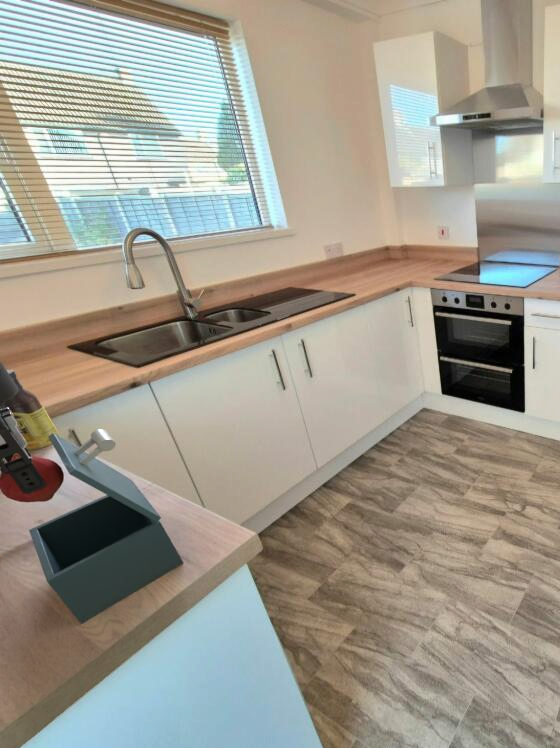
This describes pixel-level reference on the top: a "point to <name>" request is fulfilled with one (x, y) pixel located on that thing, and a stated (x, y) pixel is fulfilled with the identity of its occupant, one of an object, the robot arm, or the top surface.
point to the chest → (102, 555)
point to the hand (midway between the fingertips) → (32, 480)
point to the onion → (53, 480)
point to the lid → (102, 471)
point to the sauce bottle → (30, 417)
